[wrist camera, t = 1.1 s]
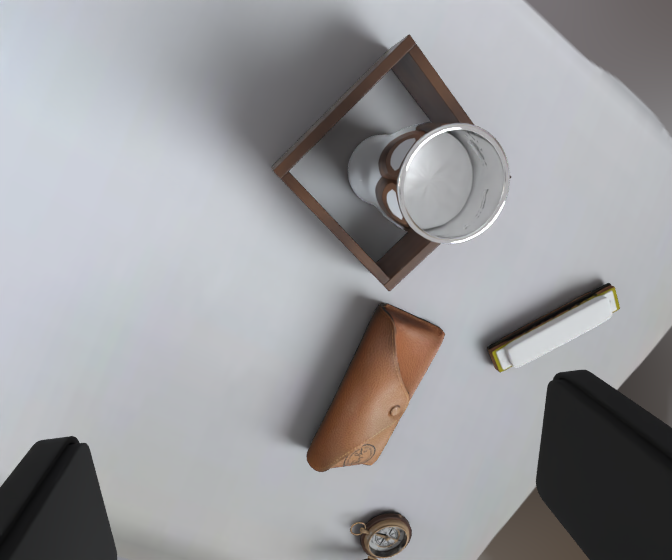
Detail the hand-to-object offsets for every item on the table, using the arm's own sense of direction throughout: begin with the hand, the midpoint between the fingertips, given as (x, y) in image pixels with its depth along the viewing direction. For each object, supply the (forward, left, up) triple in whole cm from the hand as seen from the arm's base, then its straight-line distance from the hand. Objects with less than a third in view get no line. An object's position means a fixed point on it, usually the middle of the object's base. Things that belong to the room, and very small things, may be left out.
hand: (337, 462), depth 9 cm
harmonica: (+28, +13, -31) cm, 44 cm away
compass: (+34, -18, -31) cm, 50 cm away
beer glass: (+3, +10, -31) cm, 32 cm away
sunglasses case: (+19, -5, -31) cm, 36 cm away
